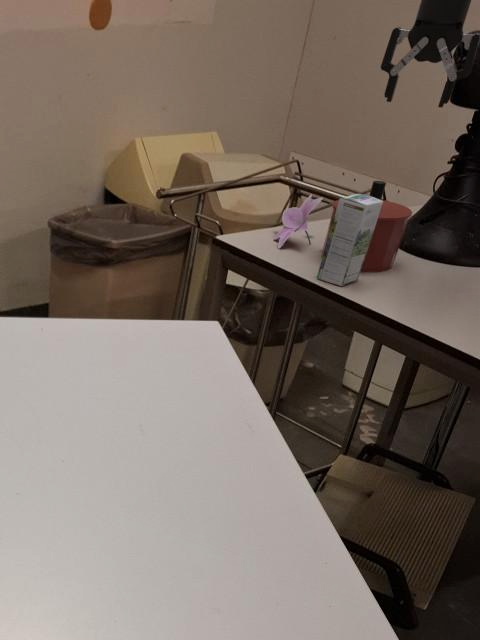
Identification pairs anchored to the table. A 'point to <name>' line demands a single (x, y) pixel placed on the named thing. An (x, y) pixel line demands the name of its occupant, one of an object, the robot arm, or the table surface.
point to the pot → (380, 244)
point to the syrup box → (349, 239)
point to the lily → (296, 220)
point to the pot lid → (385, 205)
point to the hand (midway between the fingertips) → (414, 104)
